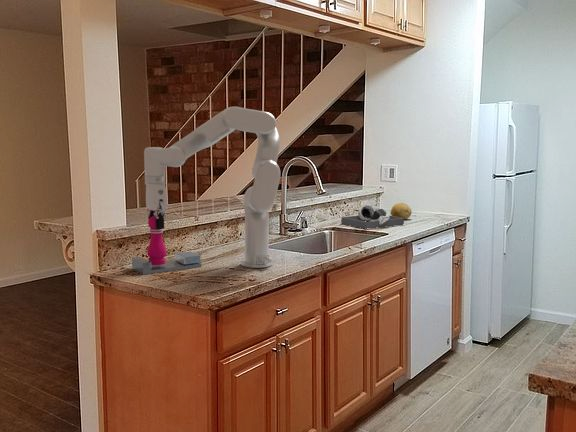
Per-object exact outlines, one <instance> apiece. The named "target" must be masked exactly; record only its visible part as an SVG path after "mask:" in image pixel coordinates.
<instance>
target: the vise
mask: <svg viewBox="0 0 576 432" xmlns="http://www.w3.org/2000/svg"><path fill="white" fill-rule="evenodd" d="M200 267H201V268H202V267H203V264H202V263H201V262H200V263H192V264H182V263H180V262H178V261H176V260H174V259H173V260H165V264H163V265H151V262H150V261H149V259H148V260H147V259H146V258H144V257H141V256H133V257H131V269H132V270H134V271H135V272H138V273H140V274H141V275H143V276H144V275H151V274H159V273H165V272H166V273H167V272H173V271H181V270H189V269H195V268H200Z"/></svg>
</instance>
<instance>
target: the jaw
mask: <svg viewBox="0 0 576 432" xmlns="http://www.w3.org/2000/svg"><path fill="white" fill-rule="evenodd" d="M173 257H174V258H173V260H176V261H178V262H180V263H182V264H192V263H201V255H200V254H198V253H195V252H193V251H189V250H188V251H182V252H176V253H173Z"/></svg>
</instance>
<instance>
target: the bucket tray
mask: <svg viewBox="0 0 576 432" xmlns="http://www.w3.org/2000/svg"><path fill="white" fill-rule="evenodd" d="M389 216H390V218H389V220H387V221H386V222H384V223H382V224H381V225H379V223H380V221H371V220H370V219H369V220H367V221H369V222H365V221H362V220H361V219H360V217H359V216H358V215H351V216H342V217H341V219H340V220H341V223H340V224H341V225H343V224H345V225H344V226H348V225H351V226H350V227H352V226H356V227H355V228H357V227H361V228H360V229H362V228H366V229H367V228H375V229H377V228H376V227H383V228H386V227H385V226H392V227H395V226H394V225H400V226H404V225H403V224H404V223H405V219H404V218H400V217H395V216H391V215H389ZM366 229H365V230H366ZM367 230H368V229H367Z"/></svg>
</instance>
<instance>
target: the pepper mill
mask: <svg viewBox="0 0 576 432" xmlns="http://www.w3.org/2000/svg"><path fill="white" fill-rule="evenodd" d="M155 219H157V218H156V213H155V212H154V216H152V217H150V218H149V220H148V221H147V225H148V227H149V233H150V239H149V240H150V241H149V244H148V247H147V250H146V254H147V256H148V257H149V258H148V261H150V262H151V265H163V264H165V261H166V258H165V257H166V255H167V247H166V245H165V243H164V240H163V233H164V231H163V230H164V229H156V221H155Z"/></svg>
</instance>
